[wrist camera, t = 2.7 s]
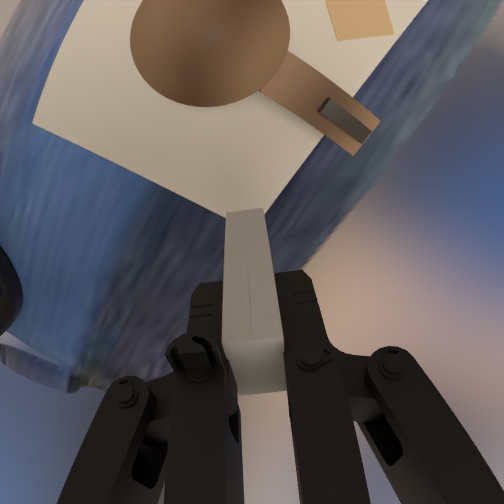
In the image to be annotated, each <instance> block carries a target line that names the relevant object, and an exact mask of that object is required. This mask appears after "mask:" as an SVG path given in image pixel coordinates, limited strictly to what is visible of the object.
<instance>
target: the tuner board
mask: <svg viewBox="0 0 504 504" xmlns="http://www.w3.org/2000/svg"><path fill="white" fill-rule="evenodd" d="M142 1H143V0H84V1H83V3H82V5H81V7H80V9H79V10H78V12H77V14H76V16H75V18H74V20H73V22H72V24H71V26H70V28H69V30H68V32H67V34H66V36H65V38H64V40H63V42H62V45H61V47H60V49H59V51H58V54H57V56H56V58H55V61H54V63H53V65H52V68H51V70H50V73H49V75H48V78H47V81H46V83H45V86H44V89H43V92H42V94H41V97H40V100H39V103H38V106H37V109H36V112H35V116H34V119H33V122H32V124H35V125H37V126H39V127H41V128H43V129H45V130H47V131H49V132H52V133H54V134H56V135H58V136H60V137H62V138H64V139H66V140H68V141H70V142H73V143H75V144H77V145H79V146H81V147H83V148H85V149H87V150H89V151H91V152H93V153H95V154H98V155H100V156H102V157H104V158H106V159H108V160H110V161H112V162H114V163H116V164H118V165H120V166H122V167H124V168H126V169H128V170H130V171H132V172H134V173H136V174H139V175H141V176H143V177H145V178H147V179H149V180H151V181H153V182H155V183H157V184H159V185H161V186H163V187H165V188H167V189H169V190H171V191H173V192H175V193H177V194H179V195H181V196H183V197H185V198H187V199H189V200H191V201H193V202H195V203H197V204H199V205H201V206H203V207H205V208H207V209H209V210H211V211H213V212H215V213H217V214H218V215H220V216H222V217H224V218H226V213H227V212H234V211H241V210H249V209H256V208H263V211H264V214H265V213H266V212H267V210H268V209H269V208H270V206H271V205H272V204H273V202H274V201H275V199H276V198H277V197H278V195H279V194H280V193H281V191H282V190H283V189H284V187H285V186H286V185H287V183H288V182H289V181H290V179H291V178H292V177H293V175H294V174H295V173H296V171H297V170H298V169H299V167H300V166H301V165H302V163H303V162H304V161H305V159H306V158H307V157H308V155H309V154H310V153H311V151H312V150H313V149H314V147H315V146H316V145H317V144H318V142H319V141H320V140H321V138H322V137H323V136H324V134H323V133H321V132H320V131H319V130H317V129H316V128H314V127H313V126H312V125H310V124H309V123H307V122H306V121H304V120H303V119H301V118H300V117H298V116H297V115H295V114H294V113H292V112H291V111H289V110H288V109H286V108H285V107H283V106H282V105H280V104H278V103H277V102H275V101H274V100H272V99H271V98H269V97H267V96H266V95H264V94H262V93H261V92H259V90H258V91H257V92H255V93H254V94H252V95H250V96H249V97H247V98H245V99H242V100H240V101H238V102H234V103H231V104H228V105H223V106H217V107H195V106H189V105H184V104H181V103H177V102H175V101H172V100H170V99H168V98H166V97H164V96H163V95H161V94H159V93H158V92H157V91H155V90H154V89H153V88H152V87H151V86H150V85H149V84H148V83H147V82H146V81H145V80H144V79H143V77H142V76H141V75H140V73H139V71H138V70H137V68H136V66H135V63H134V60H133V58H132V53H131V49H130V32H131V26H132V22H133V19H134V16H135V14H136V11H137V9H138V8H139V6H140V4H141V2H142ZM281 1H282V2H283V5H284V7H285V9H286V11H287V15H288V18H289V24H290V41H289V47H288V50H287V51H289V52H291V53H292V54H294V55H296V56H297V57H299V58H300V59H301V60H303V61H304V62H306V63H307V64H309V65H310V66H312V67H313V68H314V69H316V70H317V71H319V72H320V73H321V74H323V75H324V76H326V77H327V78H328V79H330V80H331V81H332V82H334V83H335V84H336V85H338V86H339V87H340V88H341V89H343V90H344V91H345V92H347V93H348V94H349V95H350V96H352V97H353V96H354V95H355V94H356V92H357V91H358V90H359V88H360V87H361V86H362V84H363V83H364V82H365V81H366V79H367V78H368V77H369V75H370V74H371V73H372V71H373V70H374V69H375V68H376V66H377V65H378V64H379V62H380V61H381V60H382V59H383V57H384V56H385V55H386V53H387V52H388V51H389V50H390V48H391V47H392V46H393V44H394V43H395V42H396V41H397V39H398V38H399V37H400V35H401V34H402V33H403V32H404V30H405V29H406V28H407V26H408V25H409V24H410V23H411V21H412V20H413V19H414V18H415V16H416V15H417V14H418V12H419V11H420V10H421V9H422V7H423V6H424V5H425V4H426V2H427V1H428V0H281Z"/></svg>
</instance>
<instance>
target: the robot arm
mask: <svg viewBox="0 0 504 504" xmlns="http://www.w3.org/2000/svg"><path fill="white" fill-rule="evenodd" d="M21 305H22V293H21V288H20V284H19V281H18V278H17V276H16V274H15V271H14V269H13V267H12V265H11V264H10V262H9V260H8V259H7V257H6V255H5V254H4V252H3V251H2V250H1V248H0V336H1V335H2V334H3V333H4V332H5V331H6V330H8V329H9V328H10V327H11V325H12V324H13V322H14V320H15V318H16V316H17V315H18V313H19V311H20V309H21ZM190 308H191V309H190V312H189V320H188V328H187V334H183V335H181V336H179V337H178V338H176V339H174V340H173V341H172V343H171V344H170V345H169V346H168V348H167V350H166V353H165V356H166V358H167V359H168V361H169V363H170V365H171V367H172V368H173V370H174V371H173V372H171V373H170V374H168V375H166V376H164V377H161V378H158V379H155V380H152V381H149V382H144V381H143V380H142V379H140V378H138V377H136V376H125V377H122V378H119V379H118V380H116V381H115V382H113V383H112V384H111V386H110V387H109V388H108V390H107V392H106V394H105V396H104V398H103V400H102V402H101V404H100V406H99V408H98V410H97V412H96V414H95V417H94V419H93V421H92V423H91V425H90V427H89V430H88V432H87V434H86V436H85V438H84V441H83V443H82V445H81V447H80V449H79V452H78V454H77V456H76V459H75V461H74V463H73V466H72V468H71V470H70V472H69V475H68V477H67V480H66V482H65V484H64V487H63V489H62V492H61V494H60V497H59V499H58V502H57V504H157V503H158V500H159V497H160V494H161V491H162V488H163V485H164V481H165V493H164V504H244V488H243V487H244V485H243V464H242V439H241V413H240V409H239V406H238V396H237V391H238V393H239V395H251V394H261V393H270V392H278V391H286V390H287V395H288V405H289V417H290V422H291V429H292V438H293V446H294V454H295V463H296V471H297V481H298V489H299V498H300V504H371V503H370V498H369V493H368V488H367V483H366V478H365V473H364V468H363V463H362V458H361V454H360V449H359V445H358V440H357V436H356V431H355V427H354V423H353V421H357V423H358V425H359V427H360V429H361V431H362V432H363V434H364V436H365V438H366V440H367V441H368V443H369V445H370V447H371V449H372V451H373V452H374V454H375V456H376V458H377V460H378V462H379V463H380V465H381V467H382V469H383V471H384V473H385V474H386V476H387V478H388V480H389V481H390V484H391V485H392V487H393V489H394V491H395V493H396V495H397V497H398V498H399V500H400V502H401V504H504V491H503V489H502V487H501V486H500V484H499V482H498V481H497V479H496V477H495V476H494V474H493V473H492V471H491V469H490V468H489V466H488V465H487V463H486V461H485V460H484V458H483V456H482V455H481V453H480V452H479V450H478V449H477V447H476V446H475V444H474V443H473V441H472V440H471V438H470V436H469V435H468V433H467V432H466V430H465V429H464V428H463V426H462V424H461V423H460V422H459V420H458V419H457V417H456V416H455V414H454V413H453V411H452V410H451V409H450V407H449V406H448V404H447V403H446V401H445V400H444V398H443V397H442V396H441V394H440V393H439V391H438V390H437V389H436V387H435V386H434V385H433V383H432V382H431V380H430V379H429V378H428V376H427V375H426V374H425V373H424V371H423V369H422V368H421V367H420V365H419V364H418V363H417V361H416V360H415V359H414V357H413V356H412V355H411V354H410V353H409V352H408V351H406V350H404V349H401V348H399V347H394V346H393V347H392V346H387V347H383V348H380V349H378V350H377V351H375V352H374V353H373V354H372V355H371V356H359V355H351V354H346V353H344V352H341V351H339V350H338V349H337V348H335V347H334V346H333V345H332V344H331V343H330V341H329V339H328V337H327V334H326V330H325V326H324V322H323V319H322V315H321V311H320V308H319V304H318V302H317V297H316V294H315V290H314V287H313V284H312V280H311V278H310V277H309V276H308V275H307V274H306V273H305V272H304V271H303V270H296V271H289V272H281V273H274V272H273V266H272V260H271V253H270V247H269V241H268V235H267V229H266V223H265V217H264V211H263V208H256V209H249V210H241V211H234V212H227V213H226V228H225V252H224V279H223V281H218V282H210V283H201V284H199V285H198V286H197V288H196V289H195V291H194V292H193V294H192V297H191V305H190Z"/></svg>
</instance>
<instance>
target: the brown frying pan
mask: <svg viewBox="0 0 504 504" xmlns="http://www.w3.org/2000/svg"><path fill="white" fill-rule="evenodd" d="M289 41H290V24H289V18H288V15H287V11H286V9H285V7H284V5H283V2H282V1H281V0H143V1H142V2H141V4H140V6H139V8H138V9H137V11H136V14H135V16H134V19H133V22H132V26H131V32H130V49H131V53H132V58H133V60H134V63H135V66H136V68H137V70H138V71H139V73H140V75H141V76H142V77H143V79H144V80H145V81H146V82H147V83H148V84H149V85H150V86H151V87H152V88H153V89H154V90H155V91H157V92H158V93H159V94H161V95H163V96H164V97H166V98H168V99H170V100H172V101H175V102H177V103H181V104H184V105H189V106H195V107H217V106H223V105H228V104H231V103H234V102H238V101H240V100H242V99H245V98H247V97H249V96H250V95H252V94H254V93H255V92H257V91H258V90H259V92H261V93H262V94H264V95H266V96H267V97H269V98H271V99H272V100H274V101H275V102H277V103H278V104H280V105H282V106H283V107H285V108H286V109H288V110H289V111H291V112H292V113H294V114H295V115H297V116H298V117H300V118H301V119H303V120H304V121H306V122H307V123H309V124H310V125H312V126H313V127H314V128H316V129H317V130H319V131H320V132H321V133H323V134H324V135H326V136H327V137H328V138H330V139H331V140H333V141H334V142H335V143H337V144H338V145H339V146H341V147H342V148H343V149H345V150H346V151H347V152H349V153H350V154H351V155H353V156H354V155H355V153H356V152H357V151H358V150H359V148H360V147H361V146H362V145H363V143H364V142H365V141H366V139H367V138H368V137H369V136H370V134H371V133H372V132H373V130H374V129H375V128H376V127H377V125H378V124H379V123H380V120H379V119H378V118H377V117H375V116H374V115H373V114H372V113H371V112H370V111H369V110H367V109H366V108H365V107H364V106H363V105H361V104H360V103H359V102H358V101H356V100H355V99H354V98H353V97H352V96H350V95H349V94H348V93H347V92H345V91H344V90H343V89H341V88H340V87H339V86H338V85H336V84H335V83H334V82H332V81H331V80H330V79H328V78H327V77H326V76H324V75H323V74H321V73H320V72H319V71H317V70H316V69H314V68H313V67H312V66H310V65H309V64H307V63H306V62H304V61H303V60H301V59H300V58H299V57H297V56H296V55H294V54H292V53H291V52H289V51H287V50H288V47H289Z"/></svg>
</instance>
